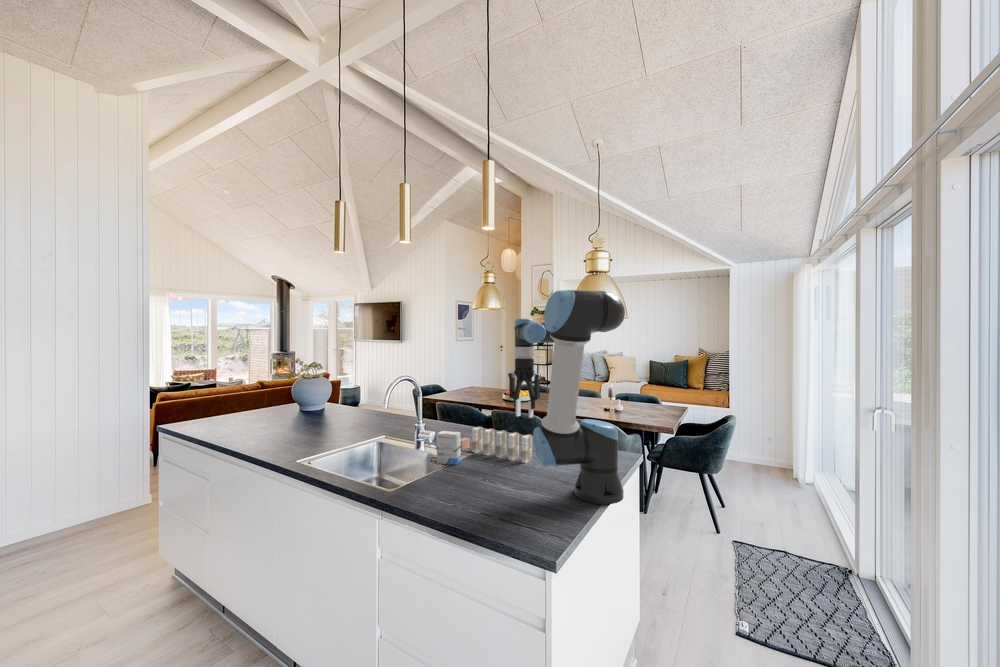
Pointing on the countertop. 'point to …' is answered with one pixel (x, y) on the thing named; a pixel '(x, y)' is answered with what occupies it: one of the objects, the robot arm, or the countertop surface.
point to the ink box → (448, 447)
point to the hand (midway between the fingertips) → (524, 416)
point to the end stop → (465, 443)
